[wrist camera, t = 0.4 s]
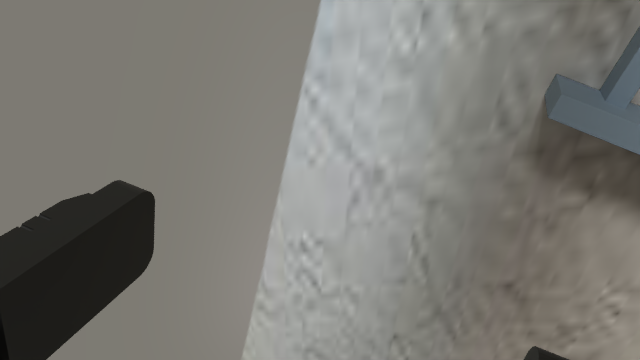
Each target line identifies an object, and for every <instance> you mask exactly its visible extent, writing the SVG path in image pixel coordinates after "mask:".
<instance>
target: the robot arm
mask: <svg viewBox="0 0 640 360" xmlns="http://www.w3.org/2000/svg"><path fill="white" fill-rule="evenodd" d="M154 218H155V199H154V196H153V194H152V193H151V192H149V191H146V190H144V189H141V188H139V187H136V186H134V185H131V184H129V183H126V182H124V181H121V180H117V181H114V182H112V183H110V184H109V185H107V186H105V187H104V188H102V189H101V190H99V191H97V192H95V193H94V194H89V193H87V194H84V195H80V196H77V197H73V198H70V199H66V200H63V201H61V202H59V203H57V204H55V205H54V206H52V207H50V208H49V209H47V210H45V211H43V212H42V213H40V215H39V217H37V216H35V217H33V218H32V219H30V220H28V221H26V222H25V223H23V224H22V226H21V227H20V228H19V227H16V228H14V229H12V230H11V231H9V232H8V233H5V234H4V235H2V236H0V360H46V359H47V358H48V357H50V356H51V355H52V354H53V353H54V352H55V351H56V350H57V349H59V348H60V347H61V346H62V345H63V344H64V343H65V342H66V341H68V340H69V339H70V338H71V337H72V336H73V335H74V334H75V333H77V332H78V331H79V330H80V329H81V328H82V327H83V326H84V325H85V324H87V323H88V322H89V321H90V320H91V319H92V318H93V317H94V316H96V315H97V314H98V313H99V312H100V311H101V310H102V309H103V308H105V307H106V306H107V305H108V304H109V303H110V302H111V301H112V300H113V299H115V298H116V297H117V296H118V295H119V294H120V293H121V292H123V290H125V289H126V288H127V287H128V286H129V285H130V284H132V283H133V282H134V281H135V280H136V279H137V278H138V277H139V276H140V275H141V274H142V273H143V272H144V271H145V269H146V268H147V266H148V264H149V262H150V260H151V258H152V254H153V250H154ZM524 360H569V359H566V358H564V357H561V356H559V355H556V354H554V353H551V352H549V351H546V350H543V349H541V348H538V347H536V346H534V347H532V348H531V349H530V350H529V351H528V353H527V355H526V356H525V358H524Z"/></svg>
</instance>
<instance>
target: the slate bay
mask: <svg viewBox="0 0 640 360" xmlns="http://www.w3.org/2000/svg"><path fill="white" fill-rule="evenodd" d="M639 88H640V27H639V28H638V30H637V32H636V33H635V35H634V36H633V38H632V40H631V41H630V43H629V44H628V46H627V48H626V49H625V51H624V52H623V54H622V56H621V57H620V59H619V60H618V62H617V63H616V65H615V67H614V68H613V70H612V71H611V73H610V75H609V76H608V78H607V79H606V81H605V83H604V84H603V86H602V87H601V89H600V91H599V90H597V89H594V88H592V87H589V86H587V85H584V84H581V83H579V82H576V81H574V80H571V79H569V78H566V77H563V76H561V75H558V74H556V76H555V78H554V79H553V81H552V83H551V85H550V86H549V88H548V90H547V92H546V93H545V101H546V108H547V115H548V118H550V119H552V120H555V121H557V122H560V123H562V124H565V125H567V126H570V127H572V128H575V129H577V130H580V131H582V132H585V133H587V134H589V135H592V136H594V137H597V138H599V139H602V140H604V141H607V142H609V143H612V144H614V145H617V146H619V147H622V148H624V149H627V150H629V151H631V152H634V153H636V154H639V155H640V106H638V105H635V104H633V103H630V101H631V100H632V98H633V97H634V95H635V94H636V92H637V91H638V89H639Z"/></svg>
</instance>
